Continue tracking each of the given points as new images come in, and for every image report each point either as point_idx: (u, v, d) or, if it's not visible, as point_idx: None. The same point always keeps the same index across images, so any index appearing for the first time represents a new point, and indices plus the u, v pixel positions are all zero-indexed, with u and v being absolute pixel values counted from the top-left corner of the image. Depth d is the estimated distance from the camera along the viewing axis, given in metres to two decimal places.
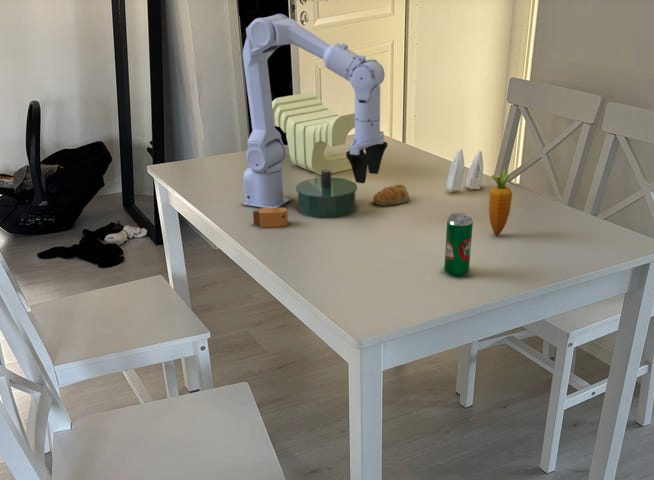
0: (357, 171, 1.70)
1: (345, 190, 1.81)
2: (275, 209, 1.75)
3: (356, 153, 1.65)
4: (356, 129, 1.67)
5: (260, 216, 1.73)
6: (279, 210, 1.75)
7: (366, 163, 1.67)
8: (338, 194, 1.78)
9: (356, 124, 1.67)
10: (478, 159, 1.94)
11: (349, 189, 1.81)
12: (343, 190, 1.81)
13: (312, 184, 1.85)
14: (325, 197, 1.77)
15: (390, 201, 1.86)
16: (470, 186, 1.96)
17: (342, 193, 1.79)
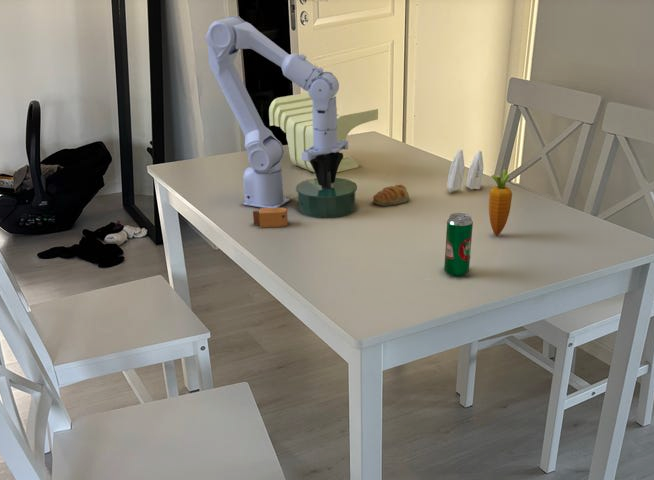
0: (319, 174, 1.81)
1: (345, 190, 1.81)
2: (275, 209, 1.75)
3: (307, 159, 1.74)
4: (313, 137, 1.77)
5: (260, 216, 1.73)
6: (279, 210, 1.75)
7: (325, 167, 1.78)
8: (338, 194, 1.78)
9: (313, 132, 1.76)
10: (478, 159, 1.94)
11: (349, 189, 1.81)
12: (343, 190, 1.81)
13: (312, 184, 1.85)
14: (325, 197, 1.77)
15: (390, 201, 1.86)
16: (470, 186, 1.96)
17: (342, 193, 1.79)
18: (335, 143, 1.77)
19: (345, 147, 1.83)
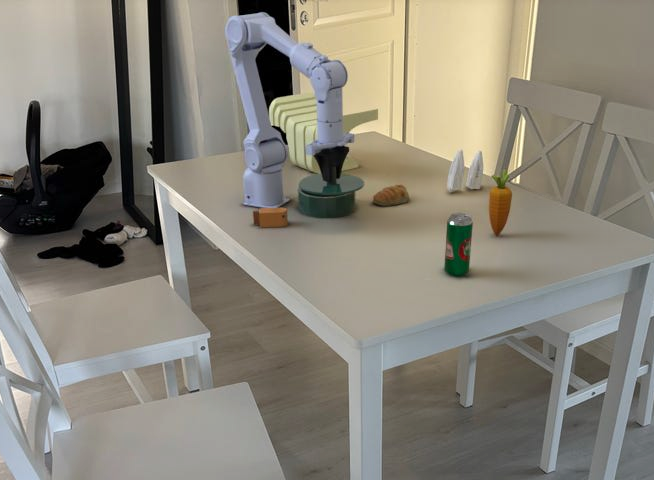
0: (323, 169, 1.70)
1: (351, 186, 1.70)
2: (275, 209, 1.75)
3: (311, 153, 1.63)
4: None
5: (260, 216, 1.73)
6: (279, 210, 1.75)
7: (330, 162, 1.67)
8: (344, 190, 1.67)
9: (317, 124, 1.65)
10: (478, 159, 1.94)
11: (356, 185, 1.70)
12: (349, 186, 1.70)
13: (316, 180, 1.74)
14: (330, 193, 1.66)
15: (390, 201, 1.86)
16: (470, 186, 1.96)
17: (348, 189, 1.68)
18: (341, 136, 1.66)
19: (351, 140, 1.72)
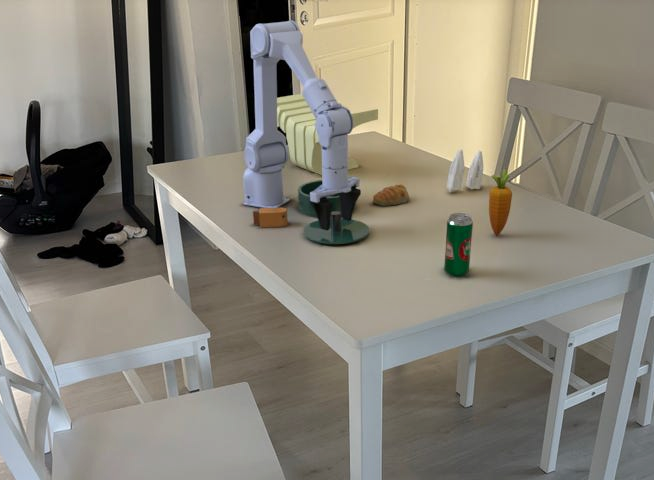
0: (321, 218, 1.66)
1: (356, 234, 1.68)
2: (275, 209, 1.75)
3: (315, 200, 1.61)
4: (322, 175, 1.63)
5: (260, 216, 1.73)
6: (279, 210, 1.75)
7: (328, 211, 1.63)
8: (349, 239, 1.65)
9: (322, 170, 1.63)
10: (478, 159, 1.94)
11: (361, 233, 1.68)
12: (354, 234, 1.68)
13: None
14: (335, 243, 1.64)
15: (390, 201, 1.86)
16: (470, 186, 1.96)
17: (353, 238, 1.66)
18: (346, 182, 1.63)
19: (356, 185, 1.69)
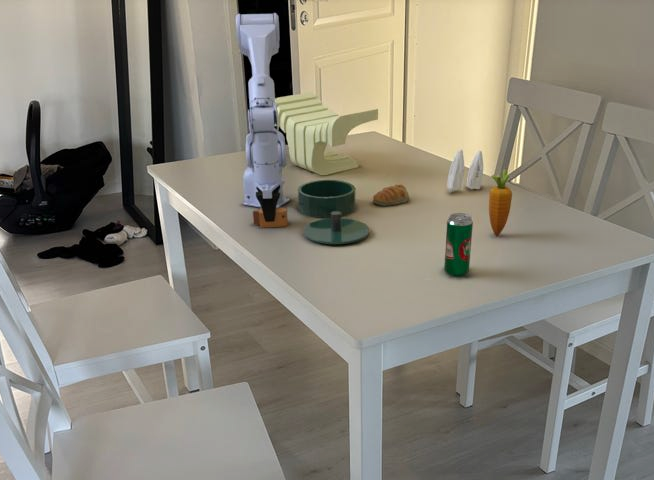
0: (267, 211, 1.72)
1: (356, 234, 1.68)
2: None
3: (270, 196, 1.66)
4: (259, 173, 1.68)
5: (260, 216, 1.73)
6: (279, 209, 1.75)
7: (277, 202, 1.71)
8: (349, 239, 1.65)
9: (258, 168, 1.67)
10: (478, 159, 1.94)
11: (361, 233, 1.68)
12: (354, 234, 1.68)
13: (321, 226, 1.72)
14: (335, 243, 1.64)
15: (390, 201, 1.86)
16: (470, 186, 1.96)
17: (353, 238, 1.66)
18: None
19: None
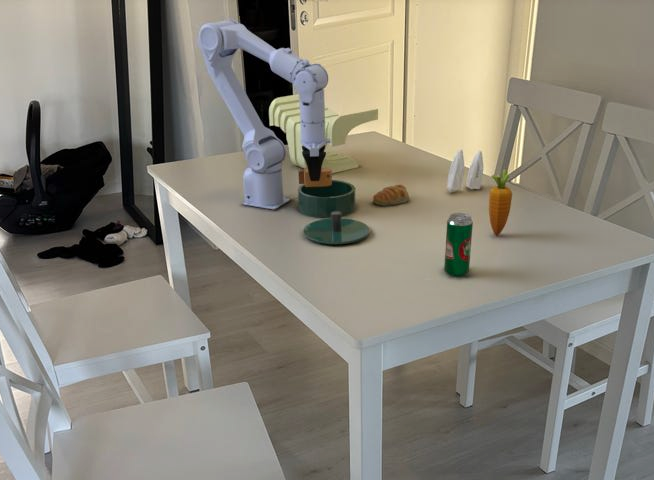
0: (312, 170, 1.76)
1: (356, 234, 1.68)
2: None
3: (317, 154, 1.70)
4: (306, 132, 1.72)
5: (305, 175, 1.78)
6: (324, 169, 1.79)
7: (322, 161, 1.75)
8: (349, 239, 1.65)
9: (305, 127, 1.71)
10: (478, 159, 1.94)
11: (361, 233, 1.68)
12: (354, 234, 1.68)
13: (321, 226, 1.72)
14: (335, 243, 1.64)
15: (390, 201, 1.86)
16: (470, 186, 1.96)
17: (353, 238, 1.66)
18: None
19: None
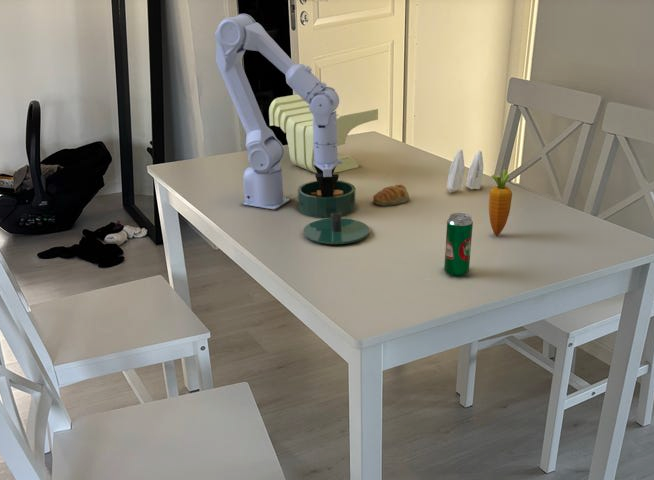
0: (325, 192, 1.80)
1: (356, 234, 1.68)
2: None
3: (330, 175, 1.75)
4: (319, 153, 1.77)
5: None
6: (336, 191, 1.84)
7: (335, 183, 1.78)
8: (349, 239, 1.65)
9: (318, 148, 1.76)
10: (478, 159, 1.94)
11: (361, 233, 1.68)
12: (354, 234, 1.68)
13: (321, 226, 1.72)
14: (335, 243, 1.64)
15: (390, 201, 1.86)
16: (470, 186, 1.96)
17: (353, 238, 1.66)
18: None
19: None
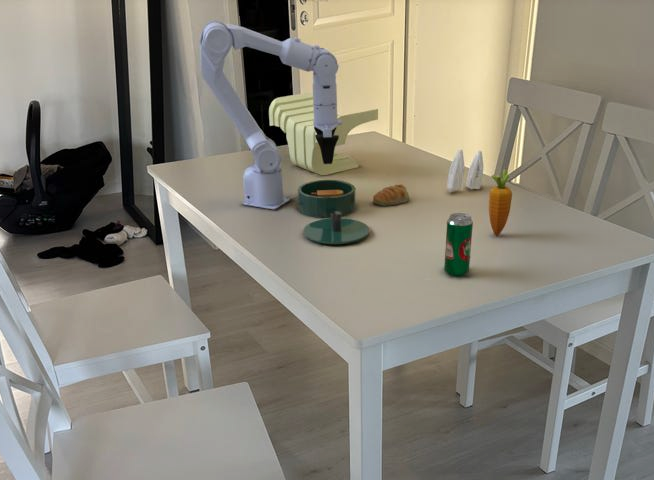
0: (325, 153, 1.82)
1: (356, 234, 1.68)
2: (332, 191, 1.85)
3: (330, 135, 1.77)
4: (319, 114, 1.79)
5: None
6: (336, 191, 1.84)
7: (335, 144, 1.80)
8: (349, 239, 1.65)
9: (318, 109, 1.78)
10: (478, 159, 1.94)
11: (361, 233, 1.68)
12: (354, 234, 1.68)
13: (321, 226, 1.72)
14: (335, 243, 1.64)
15: (390, 201, 1.86)
16: (470, 186, 1.96)
17: (353, 238, 1.66)
18: None
19: None
